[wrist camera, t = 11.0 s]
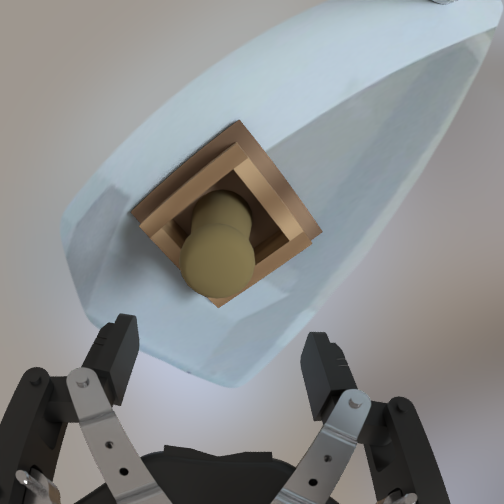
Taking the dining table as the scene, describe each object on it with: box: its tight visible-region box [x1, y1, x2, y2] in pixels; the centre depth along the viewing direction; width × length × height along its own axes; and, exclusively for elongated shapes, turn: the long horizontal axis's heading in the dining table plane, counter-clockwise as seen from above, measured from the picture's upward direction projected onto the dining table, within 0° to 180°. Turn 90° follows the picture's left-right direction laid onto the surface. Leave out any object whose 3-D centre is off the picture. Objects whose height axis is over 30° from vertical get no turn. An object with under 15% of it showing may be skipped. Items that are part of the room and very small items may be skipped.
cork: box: [179, 189, 255, 299], centre depth 23 cm, size 6×6×11 cm
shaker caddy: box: [131, 120, 322, 308], centre depth 27 cm, size 14×14×4 cm
